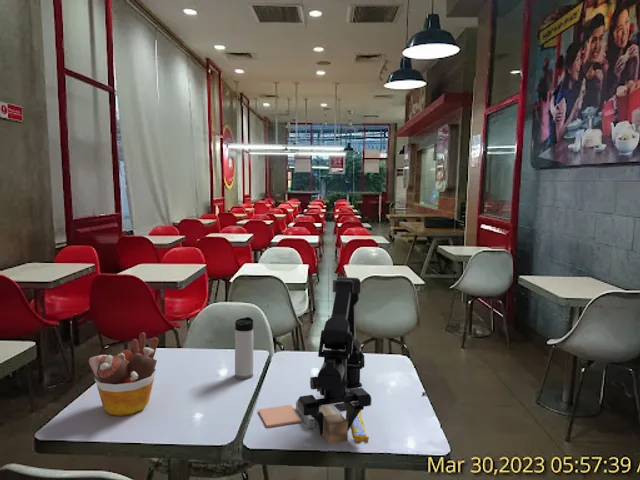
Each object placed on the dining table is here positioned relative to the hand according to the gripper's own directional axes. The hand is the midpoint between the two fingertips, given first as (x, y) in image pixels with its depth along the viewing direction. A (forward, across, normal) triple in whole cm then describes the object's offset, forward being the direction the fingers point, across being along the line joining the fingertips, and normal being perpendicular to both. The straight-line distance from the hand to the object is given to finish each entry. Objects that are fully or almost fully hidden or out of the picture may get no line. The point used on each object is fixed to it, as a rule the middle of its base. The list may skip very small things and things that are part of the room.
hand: (334, 432), depth 119 cm
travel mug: (+1, +14, -48) cm, 50 cm away
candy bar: (+2, -8, -3) cm, 9 cm away
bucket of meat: (+1, +51, -35) cm, 62 cm away
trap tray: (+1, -11, -17) cm, 20 cm away
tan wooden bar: (+1, 0, -7) cm, 7 cm away
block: (+1, 0, 0) cm, 1 cm away
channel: (+1, 0, -12) cm, 12 cm away
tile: (+1, +10, -15) cm, 18 cm away
